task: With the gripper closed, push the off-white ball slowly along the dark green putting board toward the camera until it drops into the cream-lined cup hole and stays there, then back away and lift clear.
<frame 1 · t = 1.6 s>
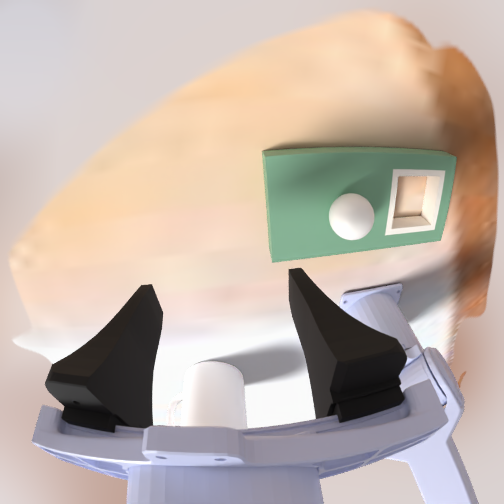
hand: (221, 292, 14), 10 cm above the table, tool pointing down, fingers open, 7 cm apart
green: (365, 195, 23), on the table
ball: (351, 216, 19), point 4 cm above the table, touching green
cup: (203, 377, 36), on the table
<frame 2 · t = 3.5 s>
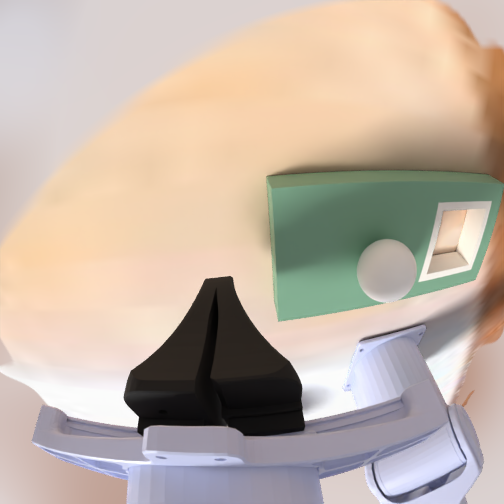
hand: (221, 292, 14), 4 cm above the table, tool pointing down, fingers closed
green: (398, 232, 17), on the table
ball: (387, 270, 14), point 4 cm above the table, touching green
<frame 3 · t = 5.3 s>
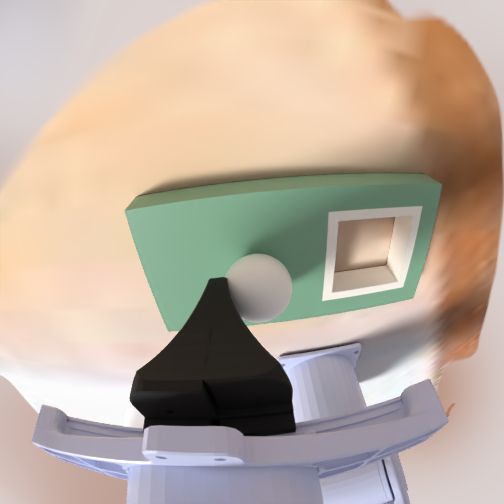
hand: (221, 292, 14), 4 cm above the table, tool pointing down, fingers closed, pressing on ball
green: (295, 246, 17), on the table
ball: (257, 288, 14), point 4 cm above the table, tilted 12°, touching green, gripper
cup: (145, 416, 31), on the table
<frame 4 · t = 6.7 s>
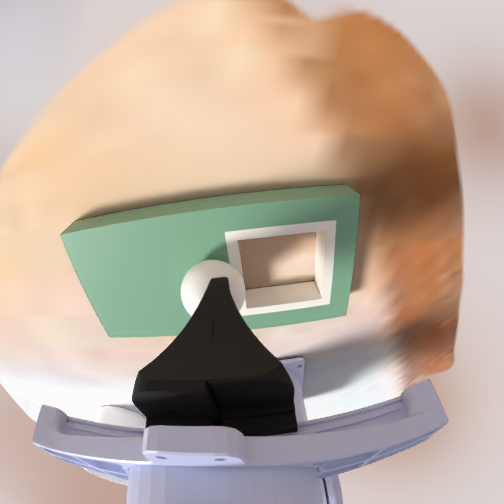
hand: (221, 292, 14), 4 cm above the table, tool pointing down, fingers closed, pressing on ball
green: (210, 263, 18), on the table
ball: (213, 292, 15), point 4 cm above the table, tilted 114°, touching green, gripper
cup: (116, 417, 31), on the table
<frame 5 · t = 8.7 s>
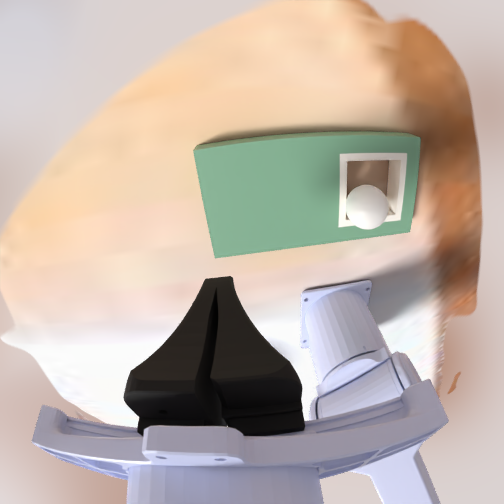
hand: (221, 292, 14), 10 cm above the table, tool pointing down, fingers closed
green: (315, 185, 22), on the table
ball: (367, 207, 20), point 3 cm above the table, tilted 146°, touching green
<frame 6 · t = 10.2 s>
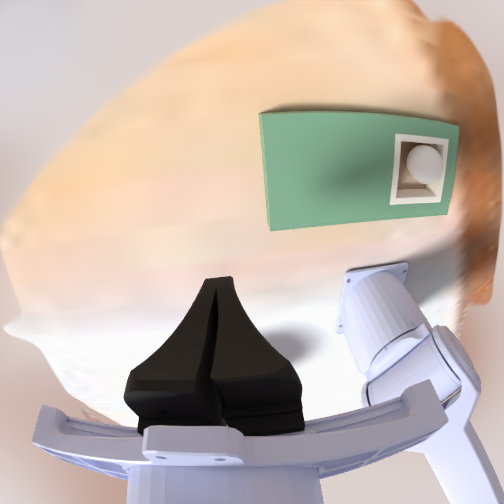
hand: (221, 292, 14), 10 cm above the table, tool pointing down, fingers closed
green: (368, 163, 21), on the table
ball: (425, 164, 19), point 2 cm above the table, tilted 101°
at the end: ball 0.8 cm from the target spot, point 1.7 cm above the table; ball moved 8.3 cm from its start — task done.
